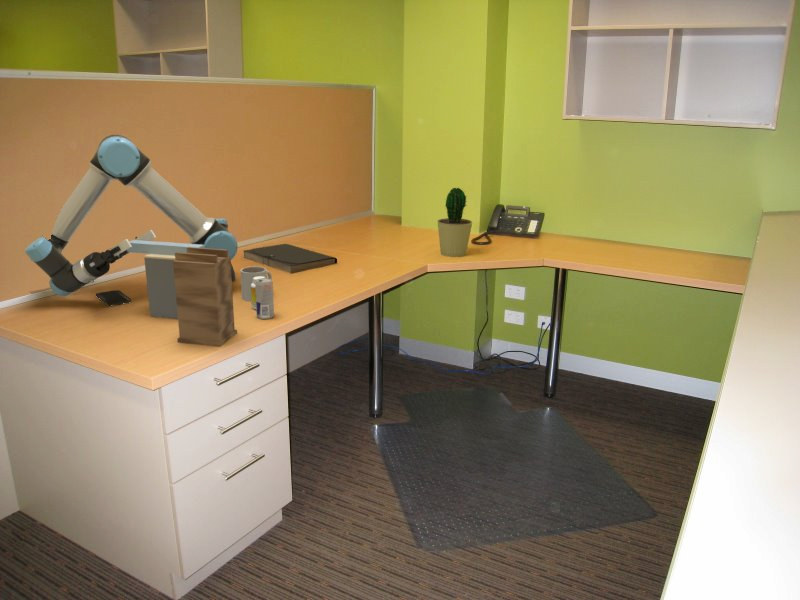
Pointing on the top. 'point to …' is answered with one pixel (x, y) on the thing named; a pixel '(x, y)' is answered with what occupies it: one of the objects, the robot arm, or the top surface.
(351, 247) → the top surface
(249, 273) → the mug
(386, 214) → the top surface
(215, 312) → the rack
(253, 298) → the supplement bottle
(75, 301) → the top surface
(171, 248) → the batten
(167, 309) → the block
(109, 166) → the robot arm
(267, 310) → the energy drink
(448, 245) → the potted cactus
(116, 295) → the phone
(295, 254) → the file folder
